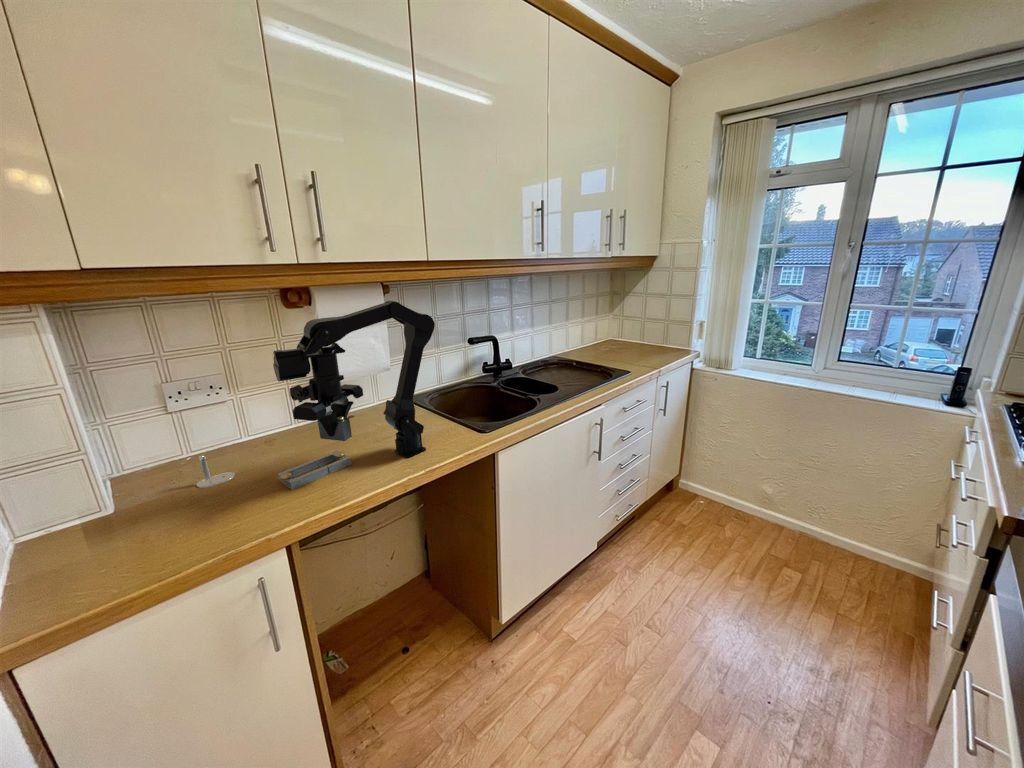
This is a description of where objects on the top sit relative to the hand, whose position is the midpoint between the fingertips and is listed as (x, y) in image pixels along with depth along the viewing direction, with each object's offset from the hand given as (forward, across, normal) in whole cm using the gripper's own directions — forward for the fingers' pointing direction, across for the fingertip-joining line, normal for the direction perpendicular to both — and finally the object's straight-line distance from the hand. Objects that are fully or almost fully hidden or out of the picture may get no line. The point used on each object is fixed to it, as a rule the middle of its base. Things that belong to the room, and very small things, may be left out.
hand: (335, 433), depth 102 cm
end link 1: (+11, +3, -8) cm, 15 cm away
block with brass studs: (+1, 0, 0) cm, 1 cm away
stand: (+12, +9, -30) cm, 34 cm away
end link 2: (+11, -4, -5) cm, 13 cm away
